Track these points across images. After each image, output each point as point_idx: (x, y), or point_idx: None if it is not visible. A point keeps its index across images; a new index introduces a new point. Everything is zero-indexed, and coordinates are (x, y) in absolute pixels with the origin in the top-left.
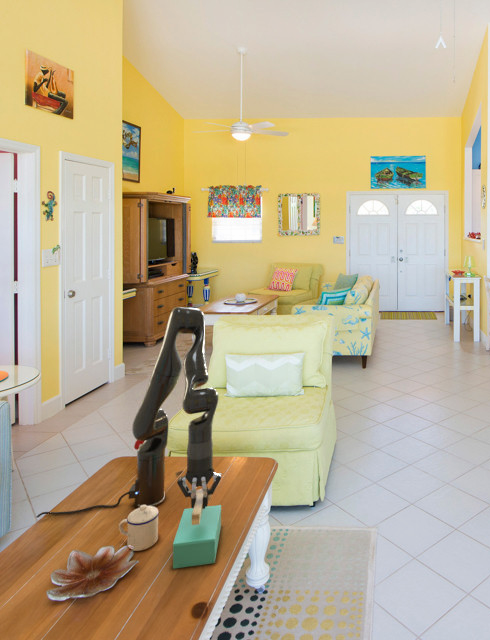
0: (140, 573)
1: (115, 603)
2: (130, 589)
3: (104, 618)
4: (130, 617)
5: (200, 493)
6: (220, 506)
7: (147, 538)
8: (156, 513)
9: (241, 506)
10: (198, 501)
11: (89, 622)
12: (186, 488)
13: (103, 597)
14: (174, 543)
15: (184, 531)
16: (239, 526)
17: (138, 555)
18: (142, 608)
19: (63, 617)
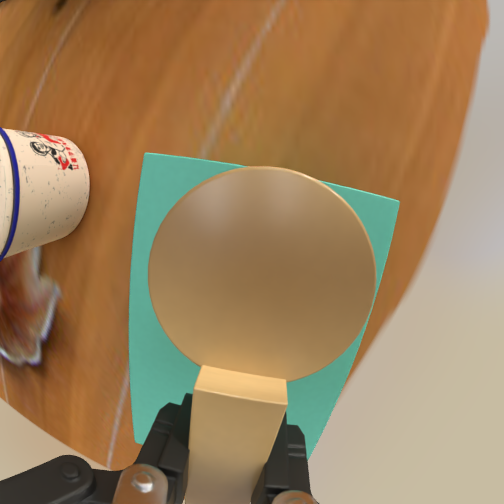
0: (79, 350)
1: (68, 413)
2: (78, 393)
3: (68, 433)
4: (111, 456)
5: (229, 399)
6: (394, 222)
7: (44, 243)
8: (4, 217)
9: (441, 76)
10: (212, 494)
11: (49, 426)
12: (42, 502)
13: (39, 383)
14: (139, 443)
15: (165, 397)
16: (424, 221)
17: (52, 259)
18: (125, 451)
19: (8, 390)
